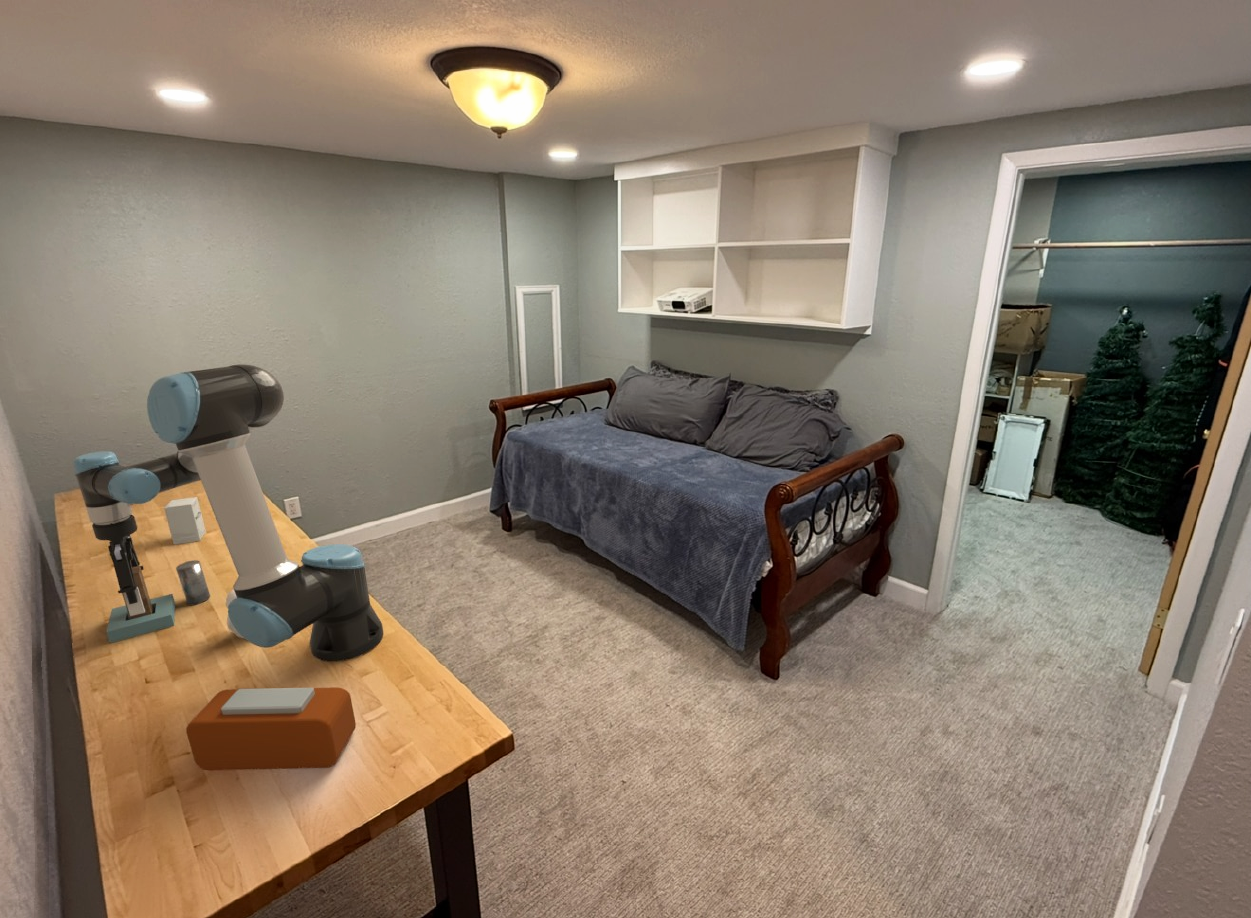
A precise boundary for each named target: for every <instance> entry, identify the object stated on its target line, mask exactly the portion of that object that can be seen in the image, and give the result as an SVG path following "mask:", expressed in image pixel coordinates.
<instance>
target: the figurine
mask: <svg viewBox="0 0 1251 918" xmlns="http://www.w3.org/2000/svg"><path fill="white" fill-rule="evenodd" d="M235 598H237V596H236V594H235V591H234V589H232V590H231V591H230V592H229V593H228V594H227V596H226V599H225V600H226V601H225V604H226V605H225V606H226V608H227V611H228V610H229V609H228V606H229V604H230V603H231V602H232V600H233V599H235ZM226 625H227V629H229V631H231V632H232V633H234V635H236V636H237V637H238V638H240V639H245V638H244V637H243V636H241V635H240V633H239V632H238V631H237V630H236V629H235V627H234V626H233V624H232V623H231V621H230V618H229V615H228V614H227V618H226Z"/></svg>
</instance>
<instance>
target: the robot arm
mask: <svg viewBox="0 0 1251 918" xmlns="http://www.w3.org/2000/svg"><path fill="white" fill-rule="evenodd" d="M284 398H285V397H284V392H283V388H282V386H281V384H280V382H279V381H278V379H277V378H276V377H275V376H274V375H273V374H271V373H270V372H269V371H268V370H265V369H263V368H261V367H259V366H256V365H251V364H241V363H240V364H233V365H232V364H231V365H229V366H221V367H216V368H214V367H213V368H207V369H199V370H190V371H185V372H182V371H181V372H179V373H175V374H171V375H167V376H164V377H161V378H158V379H156V380H155V382H153V384H152V385H151V387H150V389H149V391H148V395H147V398H146V399H147V401H146V408H147V409H146V410H147V416H148V420H149V423H150V425H151V428H152V429H153V432H154V433H155V434H156V435H158V439H160V440H162V441H163V442H164V443H168V444H175V446H176V447H177V448H176V449H177V450H178V451H177V452H175V453H173V454H169V455H165V456H161V457H159V458H154V459H150V460H146V461H142V462H139V463H136V464H132V465H127V466H125V465H121V464H120V461H119V460H118V458H117V457H118V456H117V455H116V454H115V453H114V452H113V451H107V450H105V451H95V452H89V453H85V454H81V455H79V456H77V457H75V458H74V459H73V462H72V465H73V469H74V476H75V477H76V480H77V483H78V487H79V489H80V492H81V496H82V498H83V499H82V500H83V501H84V504H85V509H86V513H87V515H88V518H89V522H91V523H92V524H91V527H92V530H93V533H94V536H95V537H94V538H95V539H96V540H99V541H109V545H108V546H107V547H108V548H107V549H108V551H109V556H110V558H111V561H112V564H113V568H114V572H115V575H116V580H117V582H118V583H117V584H118V586H119V590H117V593H118V594H122V593H123V594H124V598H125V601H126V604H127V607H128V610H129V614H130V616H133V615H137V614H141V613H145V609H144V606H143V602H142V599H141V596H140V593H139V589H138V587H137V586H136V583H135V579H134V574H133V570H132V567H136V566H140V567H141V571H144V566H143V565H140V564H141V562H140V560H139V558H138V554H137V552H136V549H135V547H134V543H133V539H132V537H131V535H132V534H135V532H136V531H138V525H137V521H136V517H135V516H134V515H133V509H132V506H134V504H135V505H141V504H146V503H149V502H151V501H152V500H153V499H155V497H157V496H158V494H160V493H164V492H166V491H170V490H173V489H176V488H180V487H182V486H186V485H190V484H193V483H196V482H200V481H201V485H202V487H203V489H204V492H205V494H206V497H207V500H208V502H209V505H210V507H211V510H212V512H213V515H214V516H215V519H216V523H217V525H218V527H219V529H220V532H221V535H222V537H223V539H224V542H225V545H226V547H227V550H228V553H229V555H230V558H231V560H232V563H233V565H234V568H235V570H236V572H237V575H238V577H237V578H236V580H235V582H234V584H233V586H232V588H233V589H232V590H234V591H235V594H236V596H237V598H235V599H233V600H232V602H231V603H230V604H229V606H228V608H227V616H228V615H229V618H230V621H231V623H232V624H233V626H234V627H235V629H236V630H237V631H238V632H239V633H240V635H241V636H243V637H244V638H243V639H245V640H246V641H247V642H249V643H250V644H252V645H254V646H256V647H259V648H273V647H275V646H277V645H280V644H281V643H282V642H284V641H285V642H286V640H290V639H291V638H293V636H295V635H296V634H298V633H300V632H302V631H303V630H304V629H306V628H308V627H309V626H311V625H312V628H311V633H310V637H309V638H310V639H309V647H310V652H311V655H312V657H314V659H317V660H320V661H323V662H328V663H329V662H331V663H332V662H333V663H334V662H343V661H348V660H351V659H355V658H357V657H359V656H362V655H364V654H367V653H369V652H370V651H372V650H373V649H374V648H375V647H377V646H378V645H379V643H381V641H382V639H383V638H384V637H383V636H384V627H383V623H382V621H381V619H380V618H379V616H378V614H377V613H376V611H375V609H374V607H372V605H371V601H370V595H369V593H370V592H369V588H368V581H367V576H366V570H365V569H366V568H365V566H366V565H365V563H364V559H363V555H362V552H361V551H360V549H359V548H357V547H355V546H352V545H349V544H344V543H343V544H327V545H325V544H324V545H321V546H317V547H313V548H310V549H308V550H306V551H305V552H304V553H303V554H302V556H301V559H300V561H301V562H300V563H302V564H301V566H300V565H299V563H298V561H295V560H291V559H289V558H288V557H287V554H286V551H285V549H284V546H283V544H282V541H281V538H280V535H279V533H278V530H277V528H276V525H275V522H274V520H273V516H272V513H271V511H270V509H269V505H268V503H267V500H266V498H265V496H264V492H263V490H262V487H261V483H260V481H259V479H258V477H257V474H256V471H255V468H254V465H253V462H252V460H251V457H250V455H249V452H248V450H247V446H246V442H247V441H248V440H249V438H250V437H251V432H252V431H253V430H255V429H257V428H258V429H259V428H262V427H264V426H266V425H268V424H269V423H270V422H272V420H274V418H275V417H277V416H278V414H279V413H280V411H281V410H282V408H283V405H284V401H285V399H284ZM124 598H123V599H124ZM125 601H124V602H125ZM228 609H229V610H228Z"/></svg>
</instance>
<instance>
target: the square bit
mask: <svg viewBox="0 0 1251 918" xmlns="http://www.w3.org/2000/svg"><path fill="white" fill-rule="evenodd" d="M140 566H141V565H139V566H136V567H132V570H133V574H134V579H135V583H136V586H137V587H138V589H139V593H140V596H141V599H142V602H143V606H144V609H145V613H141V614H137V615H133V616H130V614H129V610H128V607H127V604H126V601H125V598H124V594H123V593H121V594H122V595H121V596H122V598H123V600H124V604H125V605H126V608H127V611H128V614H129V617H130V620H131V619H135V618H139V617H142V616H146V615H150V614H154V611H153V608H152V604H151V601H150V599H151V598H150V595H149V591H148V588H147V584H146V581H145V578H144V575H143V574H144V573H143V570H141V567H140ZM125 605H124V606H125Z"/></svg>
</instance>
